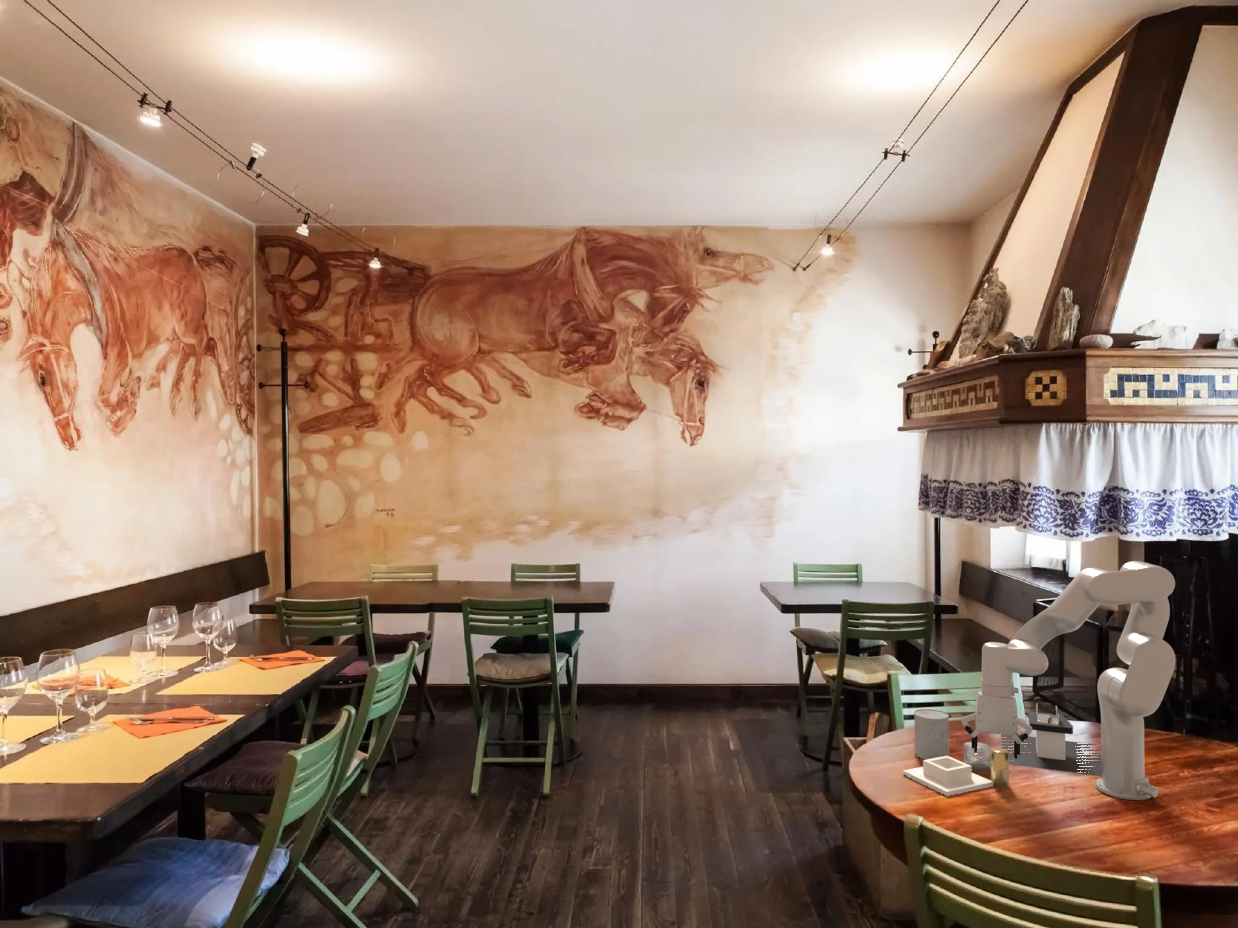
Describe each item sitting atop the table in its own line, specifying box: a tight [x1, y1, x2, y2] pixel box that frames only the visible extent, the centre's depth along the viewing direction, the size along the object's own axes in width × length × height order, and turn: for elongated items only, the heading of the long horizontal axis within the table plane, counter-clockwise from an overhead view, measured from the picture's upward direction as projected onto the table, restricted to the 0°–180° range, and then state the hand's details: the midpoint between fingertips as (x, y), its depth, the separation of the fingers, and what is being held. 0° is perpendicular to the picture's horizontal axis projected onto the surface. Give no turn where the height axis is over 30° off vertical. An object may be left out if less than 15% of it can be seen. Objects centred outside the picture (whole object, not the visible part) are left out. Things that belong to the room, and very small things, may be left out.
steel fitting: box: [963, 741, 991, 772], centre depth 228 cm, size 7×7×6 cm
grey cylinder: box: [913, 708, 950, 760], centre depth 237 cm, size 10×10×12 cm
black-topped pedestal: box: [1000, 703, 1102, 777], centre depth 237 cm, size 28×26×13 cm
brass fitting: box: [990, 747, 1010, 789], centre depth 215 cm, size 4×4×9 cm
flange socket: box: [902, 755, 994, 797], centre depth 218 cm, size 16×16×5 cm
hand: (995, 753), depth 215 cm, fingers open, 9 cm apart
